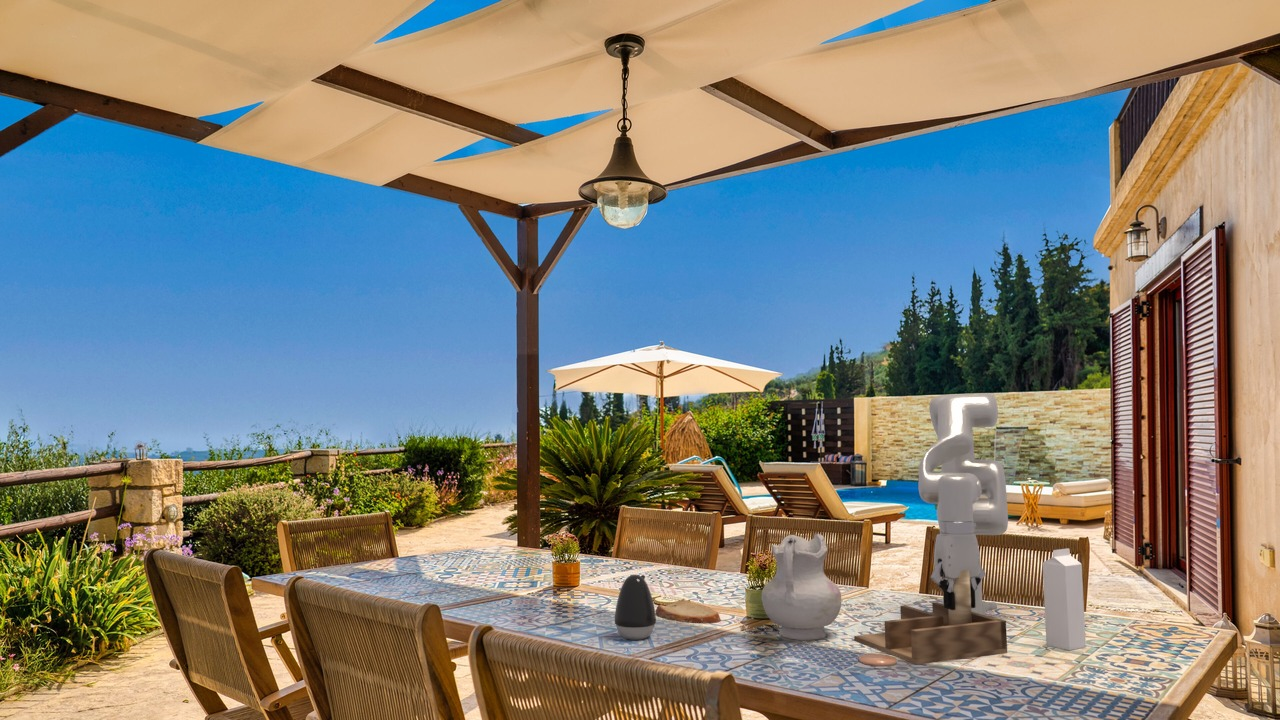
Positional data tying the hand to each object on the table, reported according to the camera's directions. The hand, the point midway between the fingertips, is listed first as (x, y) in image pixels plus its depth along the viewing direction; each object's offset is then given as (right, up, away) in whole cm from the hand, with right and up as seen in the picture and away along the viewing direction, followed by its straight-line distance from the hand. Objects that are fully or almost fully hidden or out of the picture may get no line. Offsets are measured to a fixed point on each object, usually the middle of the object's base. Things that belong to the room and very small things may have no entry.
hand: (959, 607), depth 205 cm
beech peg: (0, -6, 0) cm, 6 cm away
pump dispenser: (-75, -11, +13) cm, 77 cm away
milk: (+24, -9, -1) cm, 26 cm away
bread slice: (-61, -13, +37) cm, 72 cm away
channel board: (-7, -9, 0) cm, 12 cm away
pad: (-22, -8, -12) cm, 27 cm away
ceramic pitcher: (-34, -11, +12) cm, 38 cm away
